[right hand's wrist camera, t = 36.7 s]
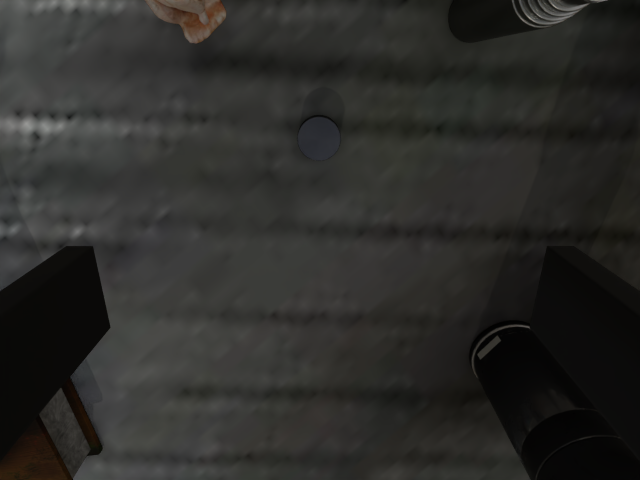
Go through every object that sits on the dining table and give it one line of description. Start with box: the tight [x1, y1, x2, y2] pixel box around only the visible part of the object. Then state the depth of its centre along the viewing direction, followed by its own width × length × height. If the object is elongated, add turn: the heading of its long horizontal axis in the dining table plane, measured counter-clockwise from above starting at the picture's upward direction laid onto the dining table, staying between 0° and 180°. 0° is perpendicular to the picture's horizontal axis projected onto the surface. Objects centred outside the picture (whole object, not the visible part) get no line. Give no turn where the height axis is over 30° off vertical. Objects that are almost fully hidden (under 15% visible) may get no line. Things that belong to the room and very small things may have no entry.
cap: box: [298, 115, 341, 161], centre depth 42 cm, size 4×4×2 cm
